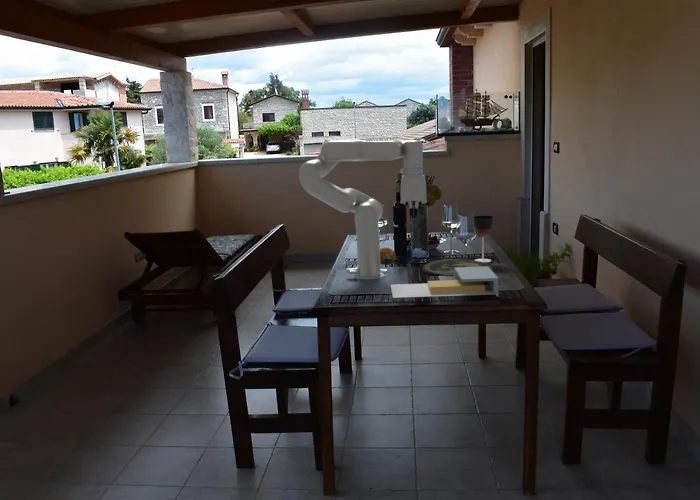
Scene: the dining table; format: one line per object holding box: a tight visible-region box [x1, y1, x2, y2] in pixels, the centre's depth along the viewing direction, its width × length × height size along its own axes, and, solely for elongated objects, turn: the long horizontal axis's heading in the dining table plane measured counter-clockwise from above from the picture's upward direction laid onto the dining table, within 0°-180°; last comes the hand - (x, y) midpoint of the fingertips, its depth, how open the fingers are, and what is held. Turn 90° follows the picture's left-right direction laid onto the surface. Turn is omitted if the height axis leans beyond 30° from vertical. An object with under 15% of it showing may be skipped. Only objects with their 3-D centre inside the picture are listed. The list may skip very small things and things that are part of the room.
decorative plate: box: [422, 258, 494, 277], centre depth 261 cm, size 30×2×30 cm
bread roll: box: [380, 247, 397, 264], centre depth 284 cm, size 10×10×8 cm
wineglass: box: [472, 215, 494, 263], centre depth 274 cm, size 8×9×20 cm
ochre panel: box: [427, 279, 485, 293], centre depth 228 cm, size 20×9×2 cm, turn 90°
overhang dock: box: [390, 266, 499, 299], centre depth 228 cm, size 38×18×7 cm, turn 89°
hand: (413, 217), depth 244 cm, fingers closed
